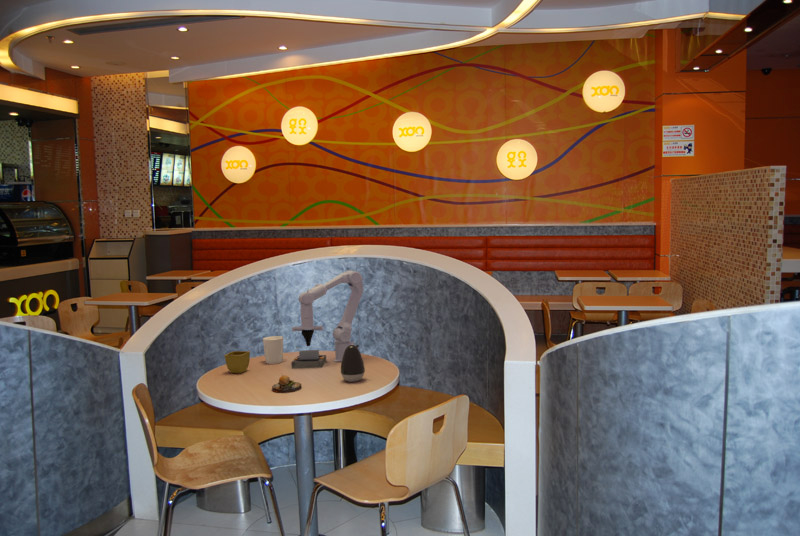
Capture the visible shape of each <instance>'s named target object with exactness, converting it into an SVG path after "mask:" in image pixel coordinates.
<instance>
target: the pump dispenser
mask: <svg viewBox="0 0 800 536" xmlns="http://www.w3.org/2000/svg"><path fill="white" fill-rule="evenodd" d="M359 347H360V345H359V344H356V345H355V344H354V345H349V346H347V347H346V349H345V351H344V354H343V357H342V361H341V363H340V374H341V376H342V378H343V379H344V381H346V382H350V383H357V382H359V381H361V380H362V379H363V377H364V375H365V372H366V369H365V368H366V367H365V363H364V359H363V356H362V354H361V351H360V349H359Z"/></svg>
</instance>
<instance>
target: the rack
mask: <svg viewBox="0 0 800 536" xmlns="http://www.w3.org/2000/svg"><path fill="white" fill-rule="evenodd" d="M326 362H327V354H319V359H300V358H299V355H297V356H295V357H294V358H293V360H292V361H291V363H290V364H291V369H317V368H319V369H321V368H323V366H325V364H326Z"/></svg>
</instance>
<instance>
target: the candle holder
mask: <svg viewBox="0 0 800 536" xmlns="http://www.w3.org/2000/svg"><path fill="white" fill-rule="evenodd" d="M262 344H263V350H264V359H265V360H264V361H265V364H268V365H275V364H281V363H283V362H284V336H280V335H275V336H273V335H272V336H266V337H263V338H262Z"/></svg>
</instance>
